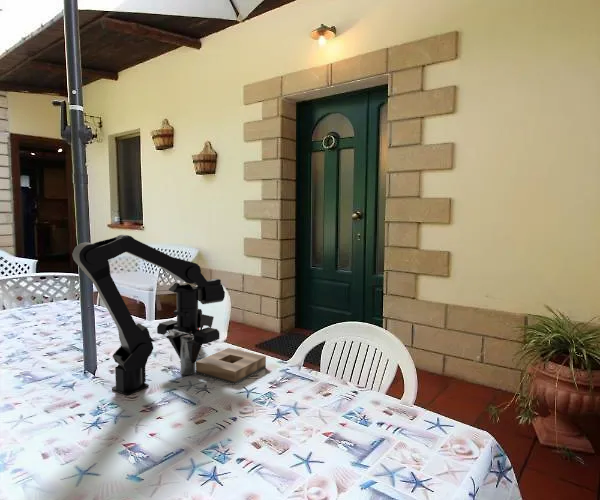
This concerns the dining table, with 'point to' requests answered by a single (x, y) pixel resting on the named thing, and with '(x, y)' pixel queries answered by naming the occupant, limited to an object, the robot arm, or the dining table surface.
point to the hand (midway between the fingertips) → (188, 361)
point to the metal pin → (186, 356)
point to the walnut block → (231, 365)
